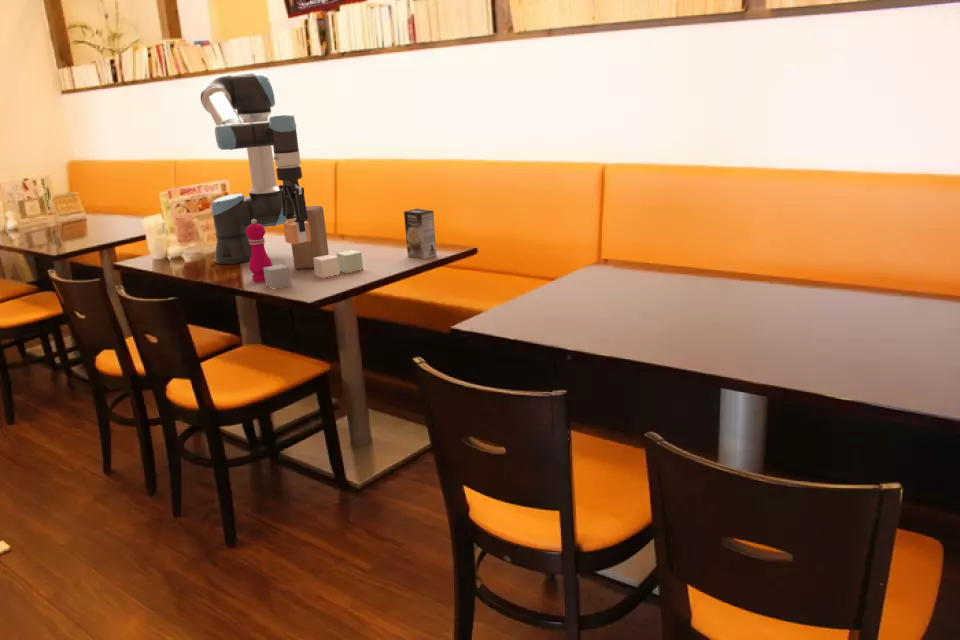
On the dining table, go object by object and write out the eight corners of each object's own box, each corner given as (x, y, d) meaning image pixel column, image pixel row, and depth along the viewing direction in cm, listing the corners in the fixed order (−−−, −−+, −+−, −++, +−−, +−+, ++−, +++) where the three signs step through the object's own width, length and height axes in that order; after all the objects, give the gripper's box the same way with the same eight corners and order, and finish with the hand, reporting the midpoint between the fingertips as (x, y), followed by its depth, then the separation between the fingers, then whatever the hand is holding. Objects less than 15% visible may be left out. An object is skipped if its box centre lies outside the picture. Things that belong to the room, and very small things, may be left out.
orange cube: (285, 242, 244) (283, 223, 242) (303, 238, 247) (300, 220, 245) (293, 244, 239) (290, 225, 237) (311, 241, 242) (308, 222, 241)
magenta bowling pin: (278, 276, 254) (269, 216, 247) (266, 282, 247) (257, 220, 241) (258, 276, 255) (249, 216, 249) (246, 282, 249) (237, 221, 243)
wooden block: (330, 261, 270) (323, 205, 264) (322, 268, 261) (314, 210, 255) (303, 262, 271) (295, 206, 265) (293, 269, 262) (285, 211, 256)
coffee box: (406, 256, 271) (402, 211, 266) (420, 253, 275) (416, 208, 270) (424, 259, 265) (420, 213, 260) (437, 255, 269) (434, 210, 264)
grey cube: (265, 286, 243) (263, 267, 241) (283, 282, 246) (281, 264, 244) (273, 289, 238) (270, 270, 236) (291, 285, 242) (288, 267, 240)
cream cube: (315, 275, 252) (313, 257, 250) (331, 272, 256) (329, 254, 254) (323, 278, 248) (321, 260, 246) (340, 275, 251) (338, 257, 249)
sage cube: (338, 270, 257) (336, 253, 255) (354, 267, 260) (352, 249, 259) (347, 273, 252) (344, 255, 251) (363, 270, 256) (361, 252, 254)
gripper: (264, 166, 241) (275, 238, 248) (289, 169, 226) (299, 246, 234) (287, 163, 245) (296, 234, 252) (312, 166, 231) (322, 242, 238)
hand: (298, 240), depth 243 cm, fingers closed on orange cube, 6 cm apart
